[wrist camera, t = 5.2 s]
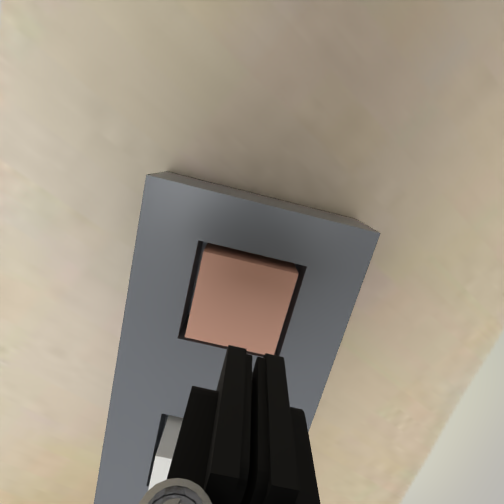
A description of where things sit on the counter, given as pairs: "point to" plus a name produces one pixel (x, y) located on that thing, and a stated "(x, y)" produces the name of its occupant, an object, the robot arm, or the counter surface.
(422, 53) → the counter surface
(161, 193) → the key panel
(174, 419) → the off-white key
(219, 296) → the terracotta key
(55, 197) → the counter surface
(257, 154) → the counter surface
